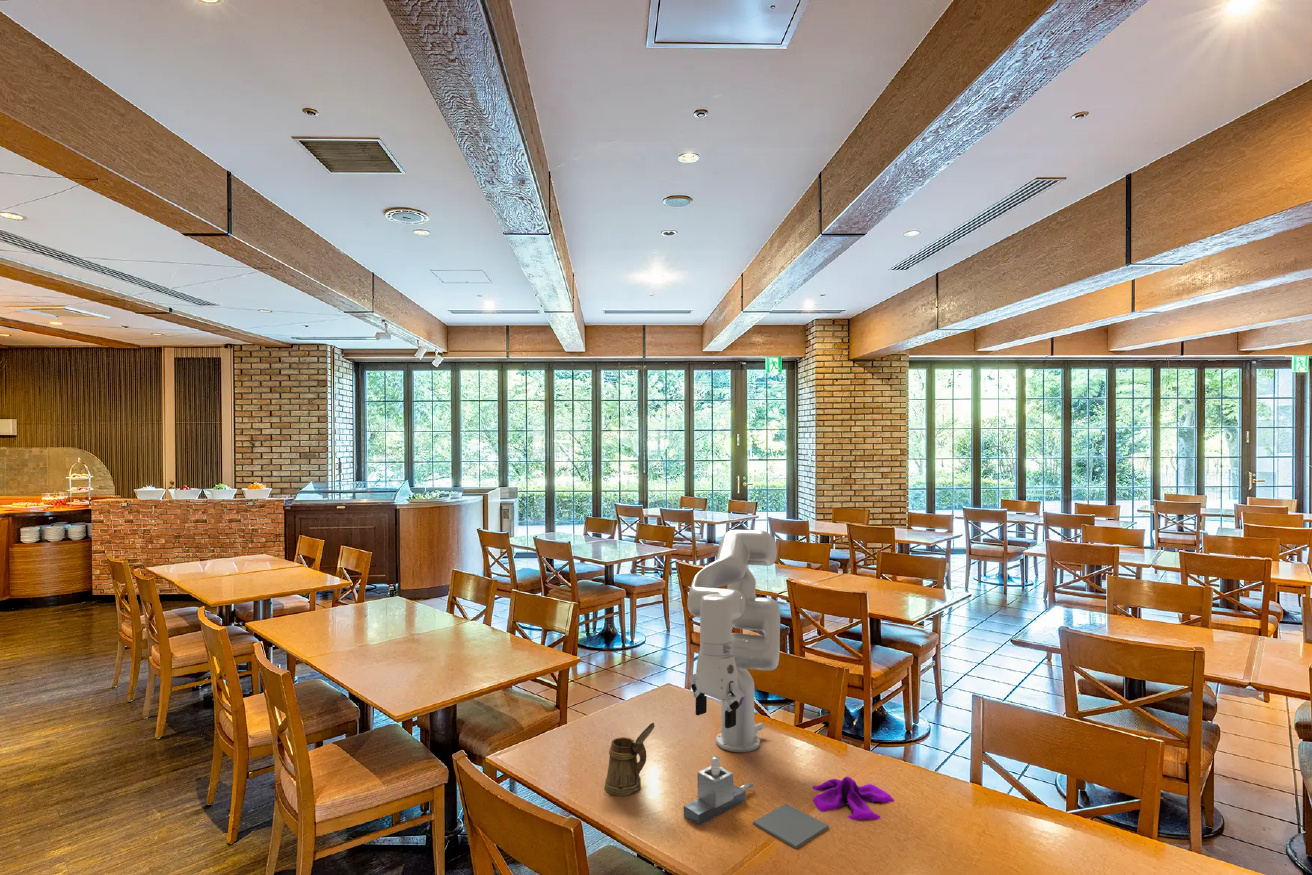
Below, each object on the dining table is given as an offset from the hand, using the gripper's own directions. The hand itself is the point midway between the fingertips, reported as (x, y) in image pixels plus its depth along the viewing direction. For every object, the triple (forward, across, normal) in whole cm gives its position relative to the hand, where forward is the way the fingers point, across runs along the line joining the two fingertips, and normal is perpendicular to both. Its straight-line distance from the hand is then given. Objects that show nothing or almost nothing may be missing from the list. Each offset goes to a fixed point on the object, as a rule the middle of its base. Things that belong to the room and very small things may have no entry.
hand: (715, 720), depth 154 cm
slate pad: (+21, -16, -8) cm, 28 cm away
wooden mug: (+21, +20, +10) cm, 31 cm away
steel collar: (+18, 0, 0) cm, 19 cm away
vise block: (+21, 0, -3) cm, 21 cm away
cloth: (+22, -17, -28) cm, 39 cm away
